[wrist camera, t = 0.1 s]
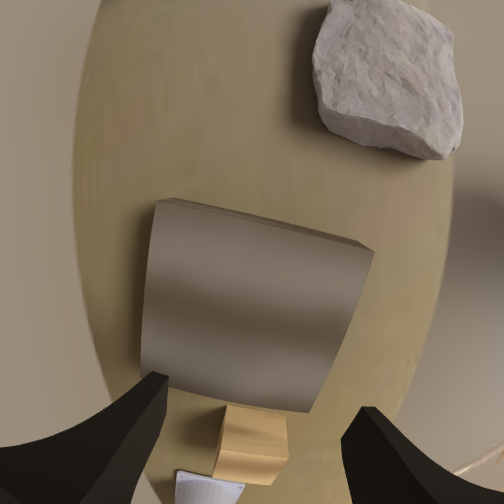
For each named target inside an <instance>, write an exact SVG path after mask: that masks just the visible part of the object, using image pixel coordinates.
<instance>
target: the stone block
mask: <svg viewBox="0 0 504 504" xmlns="http://www.w3.org/2000/svg"><path fill="white" fill-rule="evenodd" d="M453 47H454V37H453V34H452V32H451V31H450V30H449V29H448V28H447V27H446V26H445V25H443V24H442V23H440V22H439V21H437V20H436V19H435V18H433V17H432V16H430V15H428V14H427V13H425V12H423V11H421V10H419V9H417V8H415V7H413V6H411V5H409V4H407V3H405V2H402V1H400V0H330V2H329V5H328V11H327V15H326V17H325V20H324V21H323V23H322V24H321V29H320V31H319V33H318V36H317V39H316V44H315V47H314V50H313V54H312V64H313V84H314V87H315V91H316V94H317V97H318V112H319V116H320V118H321V120H322V122H323V124H325V125H326V127H327V129H328V130H329V131H330V132H332V133H334V134H336V135H339V136H342V137H344V138H347V139H348V140H350V141H352V142H354V143H357V144H359V145H361V146H375V147H379V148H386V147H389V148H392V149H396V150H398V151H400V152H403V153H405V154H408V155H411V156H414V157H417V158H421V159H424V160H427V159H431V160H445V159H447V157H448V156H449V155H451V154H453V152H454V151H455V150H456V148H457V147H458V146H459V145H460V140H461V133H462V128H463V110H462V100H461V93H460V90H459V87H458V84H457V81H456V77H455V73H454V59H453Z"/></svg>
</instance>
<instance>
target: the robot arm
mask: <svg viewBox="0 0 504 504" xmlns="http://www.w3.org/2000/svg"><path fill="white" fill-rule="evenodd" d="M168 382H169V376H168V375H164V374H161V373H158V372H154V371H152V372H149V373H148V374H147V375H146V376H145V377H144V378H143V379H142V380H141V381H140V382H139V383H137V384H136V385H135V386H134V387H133V388H131V389H130V390H129V391H128V392H127V393H125V394H124V395H123V396H121V397H120V398H119V399H117V400H116V401H115V402H113V403H112V404H111V405H109V406H108V407H106V408H105V409H103V410H102V411H100V412H99V413H97V414H95V415H94V416H92V417H91V418H89V419H87V420H85V421H84V422H82V423H80V424H78V425H76V426H74V427H72V428H69V429H67V430H65V431H62V432H60V433H58V434H55V435H53V436H50V437H47V438H44V439H41V440H37V441H33V442H29V443H25V444H21V445H16V446H10V447H3V448H2V447H1V448H0V504H131V500H132V497H133V493H134V490H135V487H136V485H137V482H138V480H139V477H140V475H141V473H142V471H143V469H144V467H145V465H146V462H147V460H148V458H149V456H150V454H151V452H152V450H153V447H154V445H155V443H156V441H157V439H158V437H159V434H160V431H161V428H162V425H163V422H164V419H165V415H166V410H167V395H168ZM341 450H342V460H343V465H344V469H345V473H346V477H347V482H348V486H349V490H350V494H351V499H352V503H353V504H504V493H503V492H499V491H495V490H491V489H487V488H484V487H481V486H478V485H475V484H472V483H470V482H468V481H466V480H464V479H462V478H460V477H458V476H456V475H454V474H452V473H450V472H449V471H447V470H446V469H444V468H442V467H441V466H439V465H438V464H437V463H435V462H434V461H433V460H431V459H430V458H429V457H427V456H426V455H425V454H424V453H423V452H421V451H420V450H419V449H418V448H417V447H416V446H415V445H414V444H413V443H412V442H410V441H409V440H408V439H407V438H406V437H405V436H404V435H403V434H402V433H401V432H400V431H399V430H398V429H397V428H396V427H395V426H394V425H393V424H392V423H391V422H390V421H389V420H388V419H387V418H386V417H385V416H384V415H383V414H382V413H381V412H380V411H379V410H378V409H377V408H376V407H363V406H362V407H361V409H360V410H359V412H358V413H357V415H356V417H355V418H354V420H353V421H352V423H351V424H350V426H349V427H348V429H347V430H346V432H345V433H344V435H343V436H342V438H341ZM244 487H245V483H243V482H236V481H230V480H223V479H218V478H212V477H207V476H202V475H198V474H193V473H189V472H185V471H181V470H179V471H177V477H176V489H175V498H176V499H175V503H174V504H236V501H237V499H238V498H239V496H240V494H241V493H242V491H243V489H244Z"/></svg>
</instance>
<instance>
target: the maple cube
mask: <svg viewBox="0 0 504 504" xmlns="http://www.w3.org/2000/svg"><path fill="white" fill-rule="evenodd" d="M288 458H289V455H288V442H287V431H286V419H285V414H278V413H271V412H264V411H257V410H251V409H245V408H240V407H234V406H229V405H227V408H226V412H225V415H224V419H223V423H222V426H221V430H220V433H219V437H218V443H217V449H216V455H215V461H214V467H213V474H212V478H218V479H223V480H230V481H236V482H244V483H252V484H262V485H271V484H272V482H273V481H274V479H275V478H276V476H277V475H278V474H279V472H280V471H281V469H282V468H283V466H284V465H285V463H286V461H287V460H288Z"/></svg>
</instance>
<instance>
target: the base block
mask: <svg viewBox="0 0 504 504" xmlns="http://www.w3.org/2000/svg"><path fill="white" fill-rule="evenodd" d="M373 255H374V251H372V250H371V249H369V248H368V247H366V246H364V245H363V244H361V243H360V242H358V241H355V240H351V239H348V238H344V237H340V236H336V235H332V234H329V233H325V232H321V231H317V230H313V229H309V228H305V227H301V226H297V225H293V224H289V223H285V222H281V221H276V220H272V219H268V218H264V217H259V216H255V215H251V214H246V213H242V212H238V211H233V210H229V209H224V208H220V207H215V206H210V205H206V204H201V203H196V202H191V201H187V200H182V199H177V198H169V199H163V200H157V201H156V206H155V212H154V218H153V225H152V232H151V238H150V246H149V254H148V262H147V271H146V280H145V291H144V303H143V317H142V335H141V371H140V378H144V377H145V376H146V375H147V374H148V373H149V372H152V371H154V372H158V373H161V374H164V375H168V376H169V382H168V386H169V387H172V388H176V389H179V390H183V391H187V392H191V393H195V394H199V395H203V396H207V397H211V398H216V399H220V400H225V401H230V402H235V403H240V404H246V405H251V406H257V407H264V408H270V409H278V410H285V411H294V412H304V413H309V411H310V410H311V408H312V406H313V404H314V402H315V400H316V398H317V396H318V394H319V392H320V390H321V388H322V386H323V384H324V381H325V379H326V377H327V375H328V373H329V371H330V369H331V366H332V364H333V362H334V360H335V357H336V355H337V353H338V351H339V348H340V346H341V344H342V341H343V339H344V336H345V334H346V331H347V329H348V326H349V324H350V321H351V319H352V316H353V314H354V311H355V308H356V306H357V303H358V300H359V297H360V295H361V292H362V289H363V286H364V283H365V280H366V277H367V274H368V271H369V268H370V265H371V262H372V259H373Z"/></svg>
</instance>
